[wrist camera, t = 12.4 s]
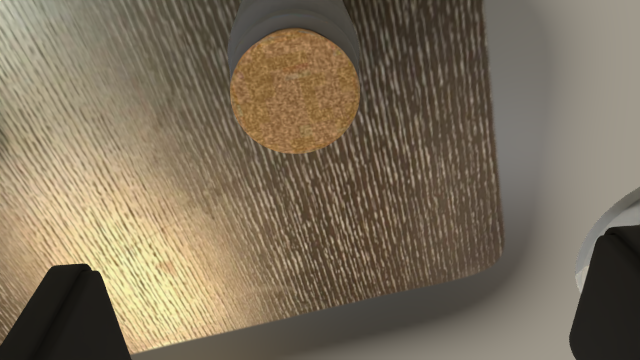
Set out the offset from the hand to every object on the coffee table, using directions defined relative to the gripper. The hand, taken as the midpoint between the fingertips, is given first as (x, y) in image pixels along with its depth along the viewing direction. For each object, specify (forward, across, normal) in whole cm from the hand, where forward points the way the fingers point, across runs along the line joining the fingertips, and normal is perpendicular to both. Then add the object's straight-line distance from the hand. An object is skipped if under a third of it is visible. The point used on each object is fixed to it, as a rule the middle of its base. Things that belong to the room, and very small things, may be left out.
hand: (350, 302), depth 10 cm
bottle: (+25, +1, 0) cm, 25 cm away
